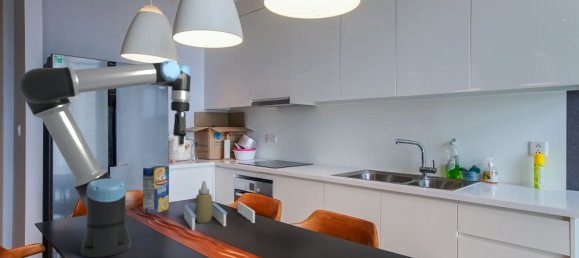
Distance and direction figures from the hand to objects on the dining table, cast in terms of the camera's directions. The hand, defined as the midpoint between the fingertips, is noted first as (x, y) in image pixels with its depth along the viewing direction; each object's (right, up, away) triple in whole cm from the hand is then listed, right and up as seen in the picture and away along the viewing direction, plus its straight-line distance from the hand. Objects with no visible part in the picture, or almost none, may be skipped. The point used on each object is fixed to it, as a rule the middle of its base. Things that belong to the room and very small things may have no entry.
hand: (178, 151), depth 145 cm
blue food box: (-20, -32, +27) cm, 46 cm away
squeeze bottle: (+9, -32, +7) cm, 34 cm away
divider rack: (+15, -32, +10) cm, 36 cm away
